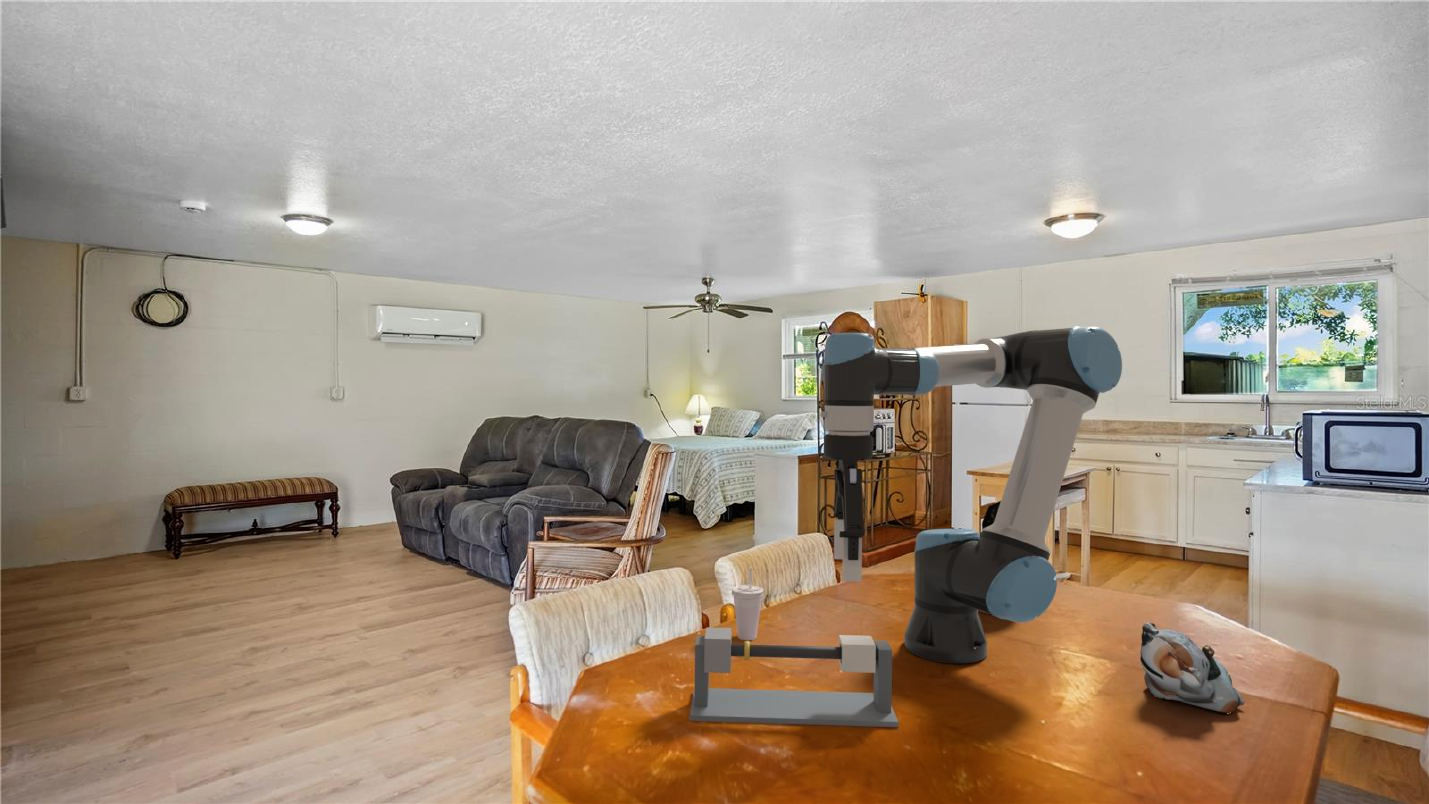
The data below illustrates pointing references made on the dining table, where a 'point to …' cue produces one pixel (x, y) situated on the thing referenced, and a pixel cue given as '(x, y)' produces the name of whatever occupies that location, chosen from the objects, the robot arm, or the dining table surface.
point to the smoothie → (747, 608)
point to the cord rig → (781, 703)
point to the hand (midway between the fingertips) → (846, 569)
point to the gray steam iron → (1185, 671)
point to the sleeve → (857, 653)
